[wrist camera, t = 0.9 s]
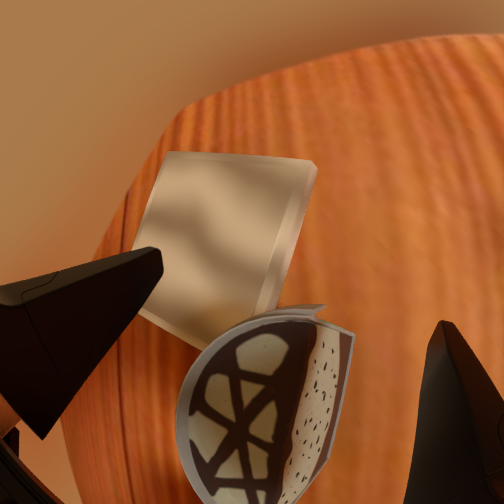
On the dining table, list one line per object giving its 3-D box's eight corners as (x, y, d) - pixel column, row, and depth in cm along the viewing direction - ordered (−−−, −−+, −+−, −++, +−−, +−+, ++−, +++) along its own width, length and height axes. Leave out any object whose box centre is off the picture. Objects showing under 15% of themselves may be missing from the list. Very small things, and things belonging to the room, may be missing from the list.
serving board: (257, 370, 23) (242, 373, 21) (131, 302, 32) (115, 300, 30) (320, 172, 24) (310, 159, 22) (179, 159, 33) (166, 150, 31)
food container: (275, 301, 23) (183, 283, 15) (358, 311, 20) (309, 301, 12) (250, 452, 21) (159, 499, 13) (324, 475, 18) (256, 550, 10)
